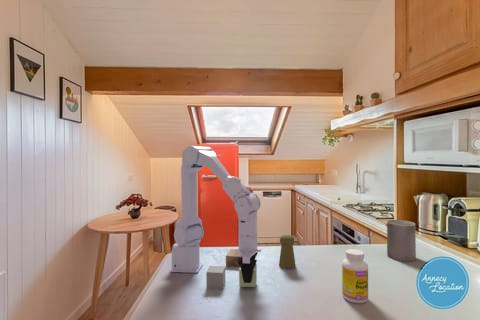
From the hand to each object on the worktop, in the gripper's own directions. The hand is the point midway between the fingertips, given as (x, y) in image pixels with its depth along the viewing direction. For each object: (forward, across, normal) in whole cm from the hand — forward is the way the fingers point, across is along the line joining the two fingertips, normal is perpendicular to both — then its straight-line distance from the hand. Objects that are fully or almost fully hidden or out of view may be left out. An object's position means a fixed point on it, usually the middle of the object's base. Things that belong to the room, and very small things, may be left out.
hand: (248, 278), depth 83 cm
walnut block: (+3, +19, +5) cm, 20 cm away
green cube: (+2, 0, 0) cm, 2 cm away
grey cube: (+2, 0, +10) cm, 10 cm away
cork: (+3, +17, -13) cm, 22 cm away
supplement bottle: (+2, -5, -30) cm, 31 cm away
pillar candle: (+2, +29, -58) cm, 65 cm away
